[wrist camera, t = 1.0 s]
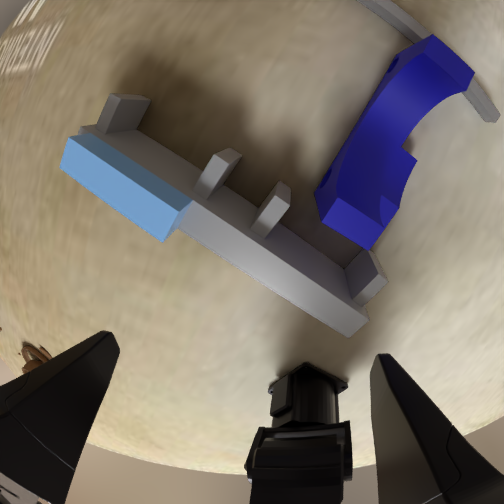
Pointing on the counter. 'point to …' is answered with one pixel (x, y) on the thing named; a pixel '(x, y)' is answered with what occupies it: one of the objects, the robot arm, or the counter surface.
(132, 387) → the counter surface
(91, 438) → the counter surface
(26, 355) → the place setting
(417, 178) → the counter surface
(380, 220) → the cable clip
